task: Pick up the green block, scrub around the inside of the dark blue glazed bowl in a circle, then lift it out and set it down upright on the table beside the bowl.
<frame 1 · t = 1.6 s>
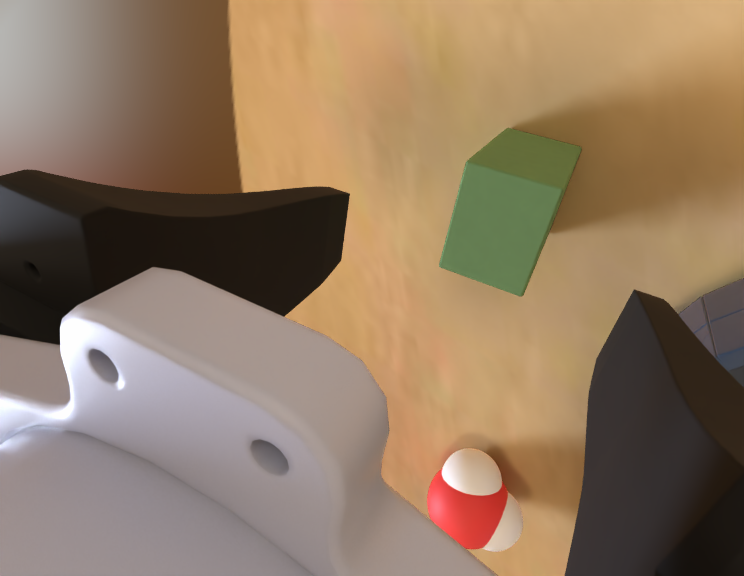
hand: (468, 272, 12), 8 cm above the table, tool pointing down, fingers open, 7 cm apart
green block: (528, 182, 19), on the table
molecule: (488, 470, 26), on the table
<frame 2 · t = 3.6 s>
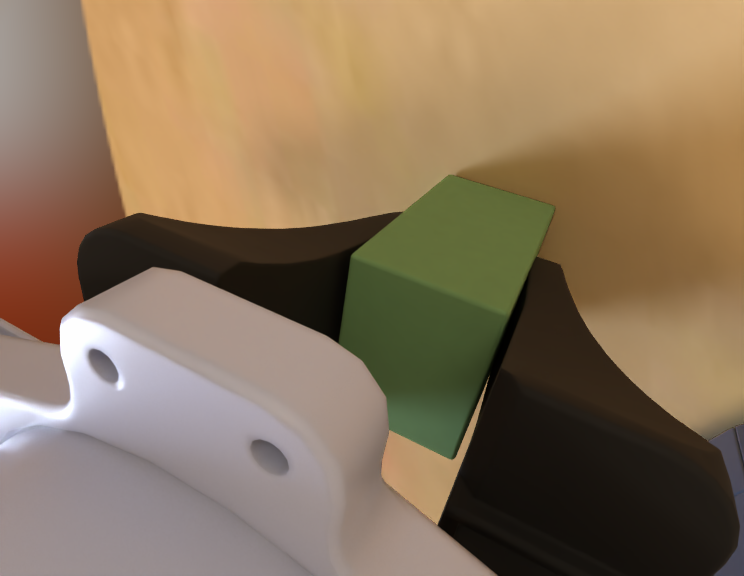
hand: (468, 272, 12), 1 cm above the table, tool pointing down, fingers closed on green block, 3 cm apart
green block: (481, 250, 13), on the table, touching gripper
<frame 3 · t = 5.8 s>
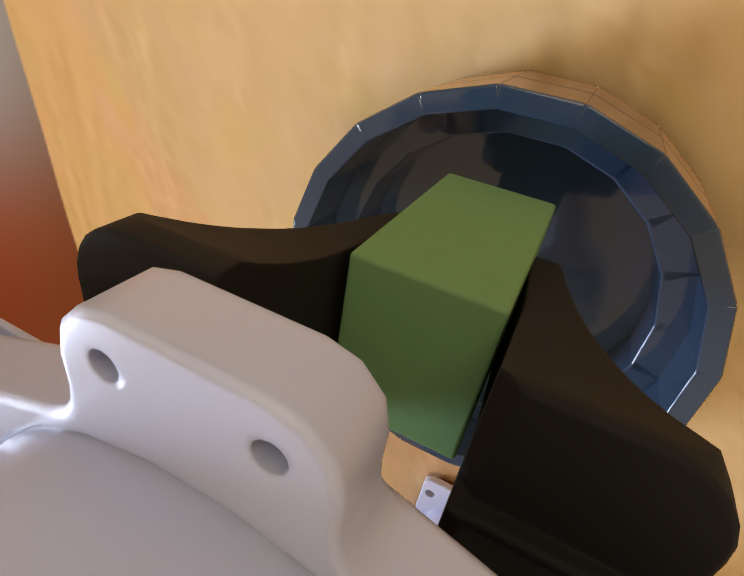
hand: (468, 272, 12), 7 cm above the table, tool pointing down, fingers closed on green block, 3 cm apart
green block: (481, 249, 13), point 5 cm above the table, touching gripper
bowl: (501, 259, 18), on the table
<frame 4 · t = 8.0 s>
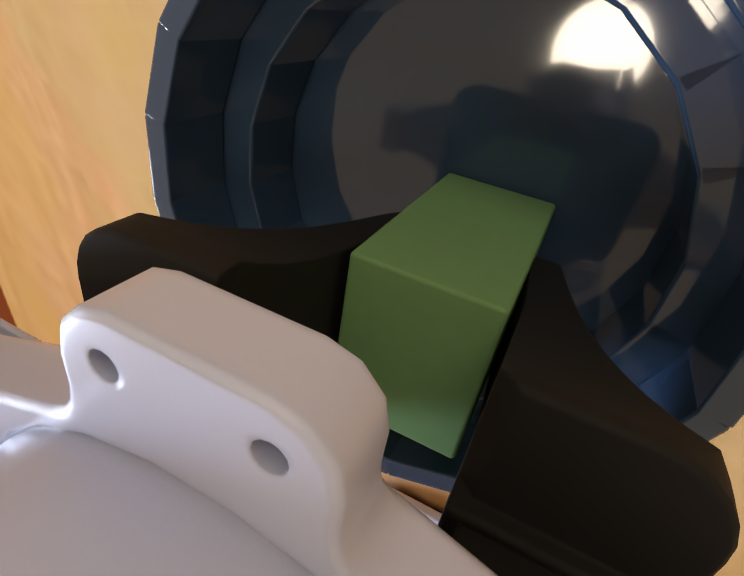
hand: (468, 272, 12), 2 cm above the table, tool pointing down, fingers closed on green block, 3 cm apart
green block: (481, 249, 13), point 1 cm above the table, touching gripper
bowl: (460, 187, 13), on the table
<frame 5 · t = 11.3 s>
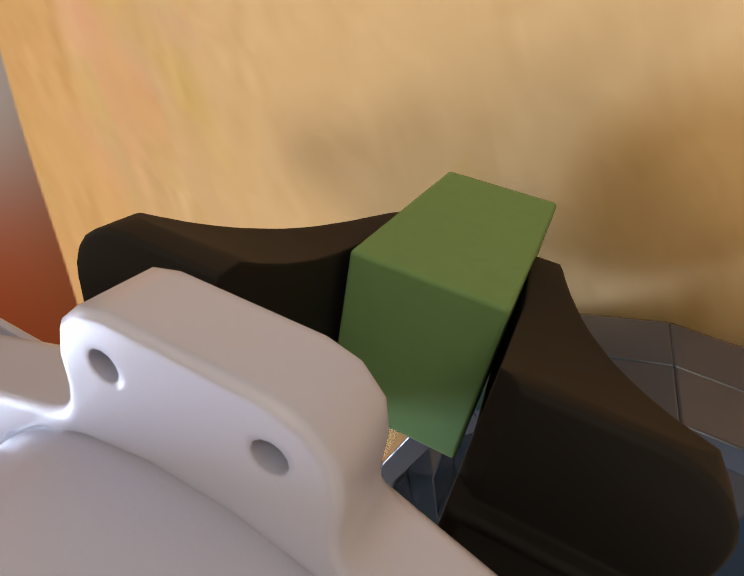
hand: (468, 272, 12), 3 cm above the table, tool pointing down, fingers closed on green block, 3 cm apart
green block: (482, 248, 13), point 1 cm above the table, touching gripper
bowl: (606, 482, 16), on the table
when the fingers open (1 cm above the table, at t = 12.5 s): green block stays where it is, on the table.
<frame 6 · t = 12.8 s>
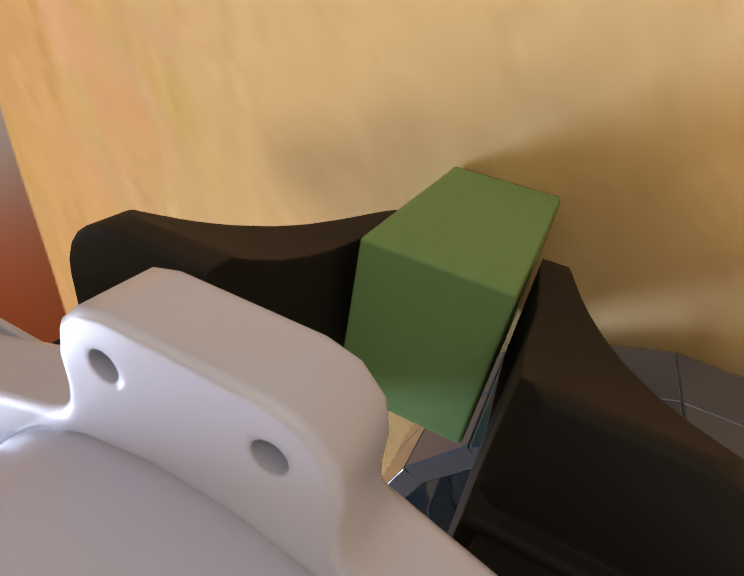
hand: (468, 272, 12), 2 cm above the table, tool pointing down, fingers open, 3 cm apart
green block: (486, 242, 13), on the table
bowl: (608, 512, 15), on the table
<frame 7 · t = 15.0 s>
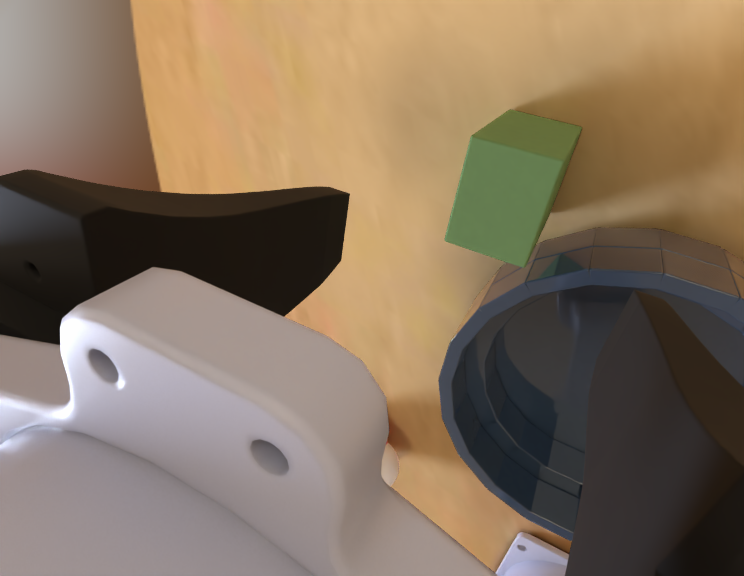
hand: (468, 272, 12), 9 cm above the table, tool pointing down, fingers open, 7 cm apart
green block: (529, 163, 19), on the table
molecule: (377, 427, 30), on the table
bowl: (613, 364, 21), on the table
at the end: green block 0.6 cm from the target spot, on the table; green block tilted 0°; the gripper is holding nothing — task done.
